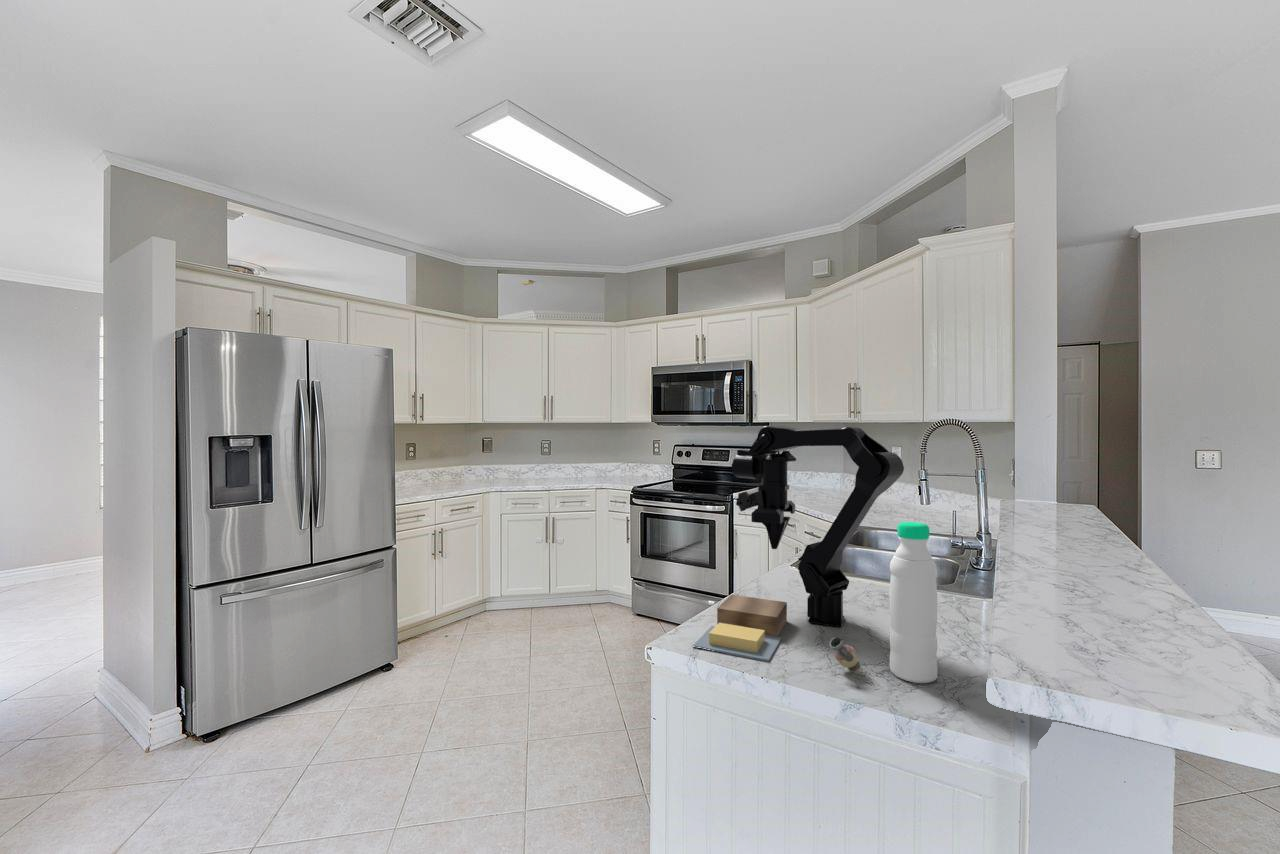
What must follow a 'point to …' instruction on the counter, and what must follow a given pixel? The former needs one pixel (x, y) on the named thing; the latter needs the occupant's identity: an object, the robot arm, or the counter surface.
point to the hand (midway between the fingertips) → (774, 548)
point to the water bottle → (913, 606)
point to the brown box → (753, 613)
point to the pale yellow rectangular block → (737, 637)
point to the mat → (762, 654)
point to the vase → (846, 656)
